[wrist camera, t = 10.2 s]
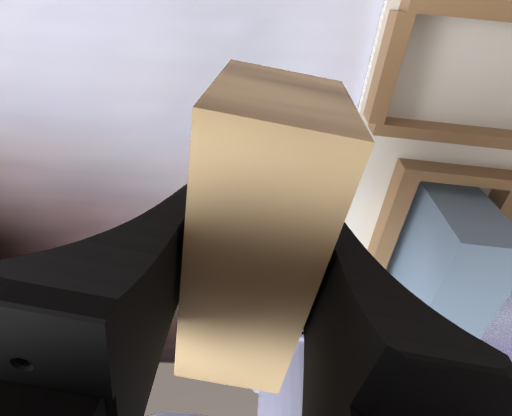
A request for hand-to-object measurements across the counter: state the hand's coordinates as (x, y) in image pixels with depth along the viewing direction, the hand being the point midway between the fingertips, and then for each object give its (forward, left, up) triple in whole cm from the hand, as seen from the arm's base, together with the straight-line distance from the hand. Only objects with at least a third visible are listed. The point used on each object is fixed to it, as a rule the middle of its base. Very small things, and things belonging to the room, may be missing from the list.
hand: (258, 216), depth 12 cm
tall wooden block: (0, 0, -2) cm, 2 cm away
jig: (-3, -11, -10) cm, 15 cm away
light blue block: (-6, -11, -9) cm, 16 cm away
